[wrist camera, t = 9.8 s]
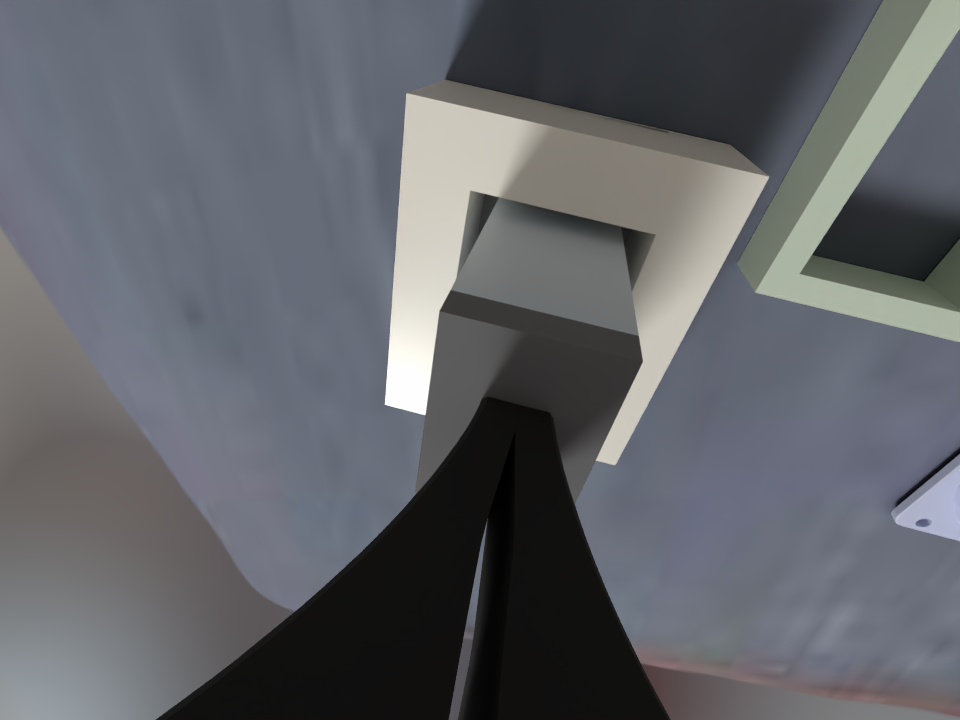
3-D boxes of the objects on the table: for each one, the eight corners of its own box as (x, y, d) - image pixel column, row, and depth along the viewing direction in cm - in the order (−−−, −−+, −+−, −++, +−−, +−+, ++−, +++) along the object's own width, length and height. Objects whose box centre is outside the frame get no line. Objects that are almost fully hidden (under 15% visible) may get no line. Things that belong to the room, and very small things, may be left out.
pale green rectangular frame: (1196, 11, 10) (1311, 8, 8) (930, 310, 15) (973, 345, 13) (909, -47, 10) (968, -62, 9) (736, 264, 15) (755, 292, 13)
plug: (618, 210, 14) (642, 361, 8) (571, 343, 17) (561, 531, 11) (506, 184, 14) (439, 311, 8) (479, 320, 17) (415, 492, 11)
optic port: (730, 144, 13) (772, 180, 10) (611, 400, 19) (615, 471, 16) (444, 79, 13) (403, 94, 10) (414, 349, 19) (382, 409, 16)
